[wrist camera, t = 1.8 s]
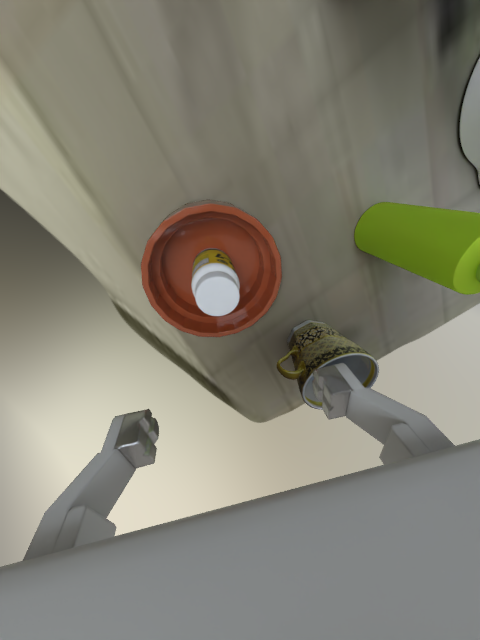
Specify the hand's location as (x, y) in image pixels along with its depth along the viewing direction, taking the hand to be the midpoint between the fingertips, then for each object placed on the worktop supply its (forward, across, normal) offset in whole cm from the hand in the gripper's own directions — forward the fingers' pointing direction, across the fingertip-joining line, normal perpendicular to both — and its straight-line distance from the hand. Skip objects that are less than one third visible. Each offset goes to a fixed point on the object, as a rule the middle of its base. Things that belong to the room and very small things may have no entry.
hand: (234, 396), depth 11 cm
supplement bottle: (+19, 0, 0) cm, 19 cm away
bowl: (+19, 0, 0) cm, 19 cm away
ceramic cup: (+20, -11, +14) cm, 26 cm away
